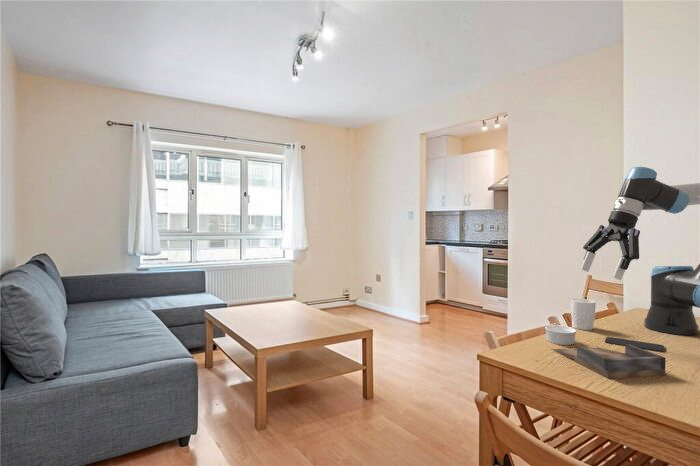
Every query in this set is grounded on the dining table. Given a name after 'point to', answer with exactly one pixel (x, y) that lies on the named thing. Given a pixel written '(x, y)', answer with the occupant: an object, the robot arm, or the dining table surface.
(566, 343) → the ramekin
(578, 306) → the white cup
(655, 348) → the phone
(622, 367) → the dock
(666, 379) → the dining table surface
